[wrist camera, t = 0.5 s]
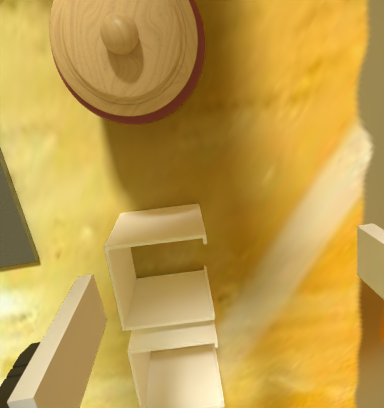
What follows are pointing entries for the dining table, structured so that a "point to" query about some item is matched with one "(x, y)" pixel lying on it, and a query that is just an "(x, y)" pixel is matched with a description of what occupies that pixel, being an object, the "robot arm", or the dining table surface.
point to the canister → (128, 55)
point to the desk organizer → (166, 313)
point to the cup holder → (13, 225)
